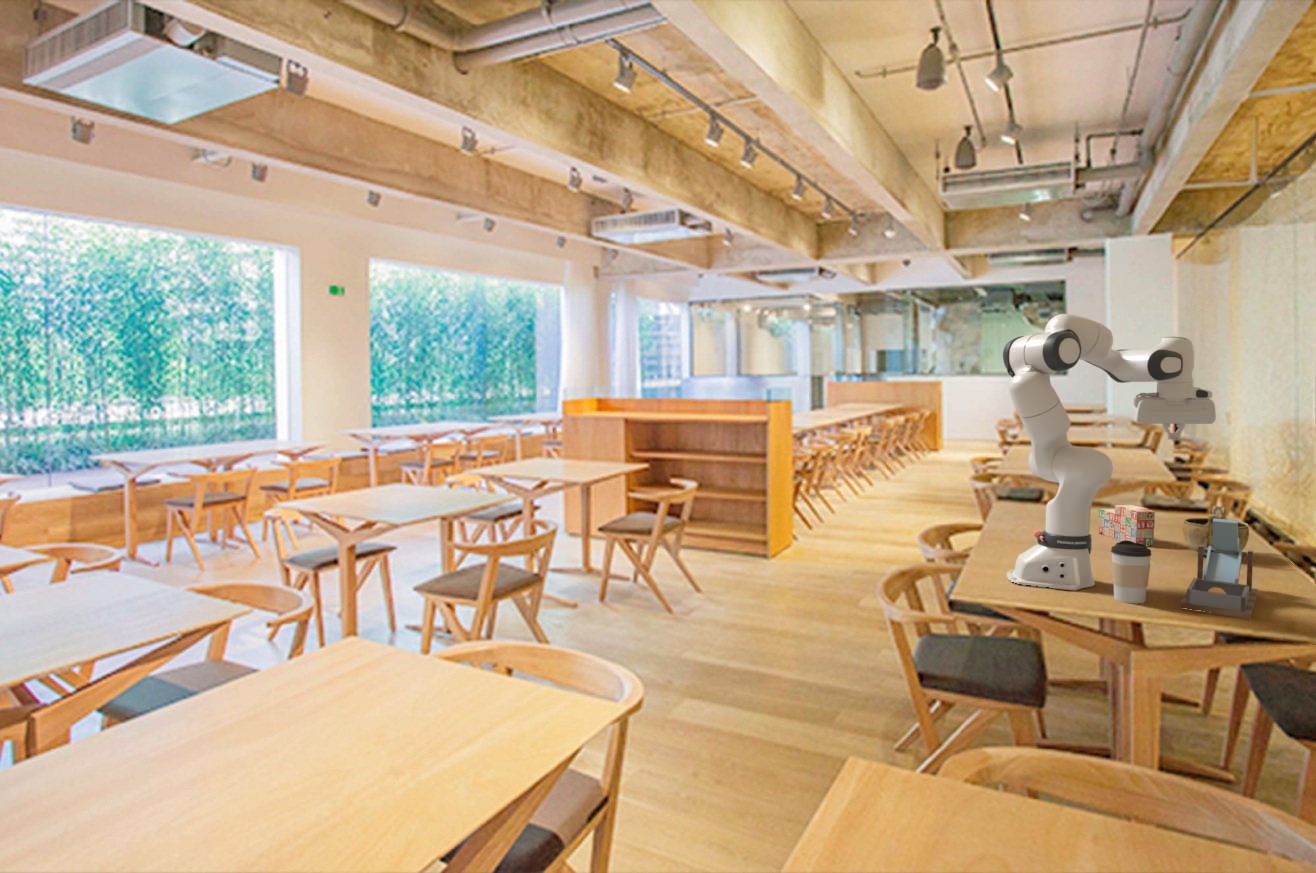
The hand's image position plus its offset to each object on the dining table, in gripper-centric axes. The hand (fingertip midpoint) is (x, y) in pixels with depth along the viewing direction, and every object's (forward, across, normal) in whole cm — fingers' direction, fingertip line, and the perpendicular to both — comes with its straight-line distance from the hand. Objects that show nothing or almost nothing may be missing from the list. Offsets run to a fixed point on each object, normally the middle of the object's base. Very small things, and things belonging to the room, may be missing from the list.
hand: (1172, 439), depth 226 cm
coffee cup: (+39, -20, -37) cm, 58 cm away
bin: (+38, -1, -39) cm, 54 cm away
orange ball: (+36, -2, -42) cm, 55 cm away
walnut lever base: (+39, +1, -34) cm, 52 cm away
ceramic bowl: (+39, +19, +21) cm, 48 cm away
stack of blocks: (+39, -1, +42) cm, 57 cm away
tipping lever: (+35, +6, -24) cm, 43 cm away
